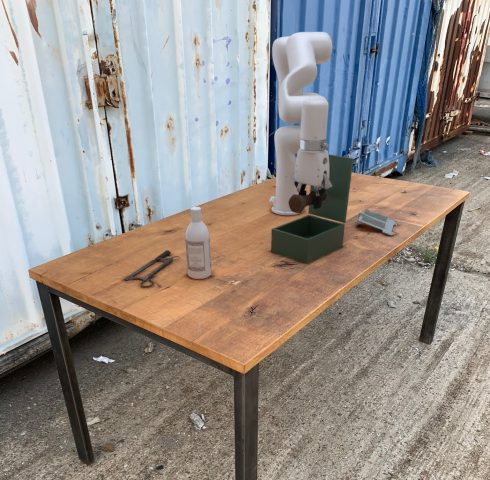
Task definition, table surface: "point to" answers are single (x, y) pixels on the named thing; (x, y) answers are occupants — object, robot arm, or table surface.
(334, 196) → the chest lid
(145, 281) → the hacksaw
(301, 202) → the bolt
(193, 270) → the bath foam
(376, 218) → the metal bracket
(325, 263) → the table surface
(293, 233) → the parts chest
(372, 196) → the table surface
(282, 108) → the robot arm
